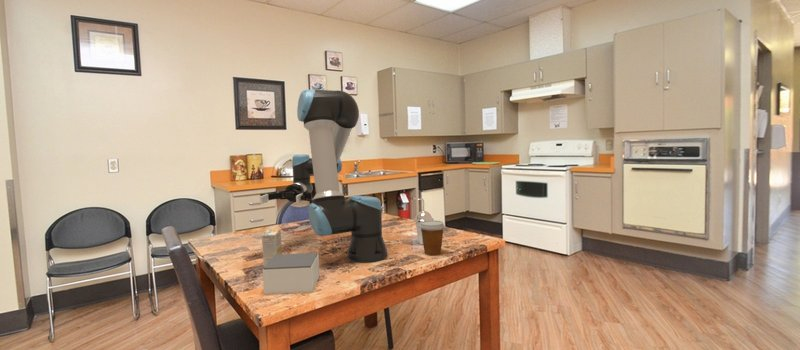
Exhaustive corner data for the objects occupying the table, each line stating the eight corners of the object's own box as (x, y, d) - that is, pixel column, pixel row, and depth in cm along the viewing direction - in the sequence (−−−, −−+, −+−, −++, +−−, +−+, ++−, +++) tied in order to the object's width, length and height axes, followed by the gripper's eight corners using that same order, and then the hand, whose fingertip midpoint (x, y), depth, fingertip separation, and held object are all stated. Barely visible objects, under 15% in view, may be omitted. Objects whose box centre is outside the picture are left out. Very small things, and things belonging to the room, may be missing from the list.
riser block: (319, 276, 127) (318, 252, 127) (312, 292, 113) (311, 266, 113) (276, 278, 126) (275, 254, 126) (264, 295, 113) (262, 268, 112)
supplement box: (269, 264, 140) (267, 229, 139) (282, 264, 140) (280, 228, 139) (263, 272, 132) (261, 234, 131) (277, 271, 132) (275, 234, 131)
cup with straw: (434, 245, 160) (434, 197, 159) (413, 246, 160) (412, 198, 159) (433, 240, 169) (432, 195, 167) (412, 240, 169) (411, 195, 167)
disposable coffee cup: (438, 258, 143) (437, 226, 142) (415, 254, 148) (415, 223, 147) (449, 251, 151) (448, 221, 150) (427, 248, 156) (426, 219, 155)
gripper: (325, 200, 165) (312, 209, 144) (267, 201, 166) (246, 210, 145) (324, 182, 165) (311, 189, 143) (266, 183, 165) (245, 190, 144)
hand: (279, 199), depth 144 cm, fingers open, 13 cm apart
